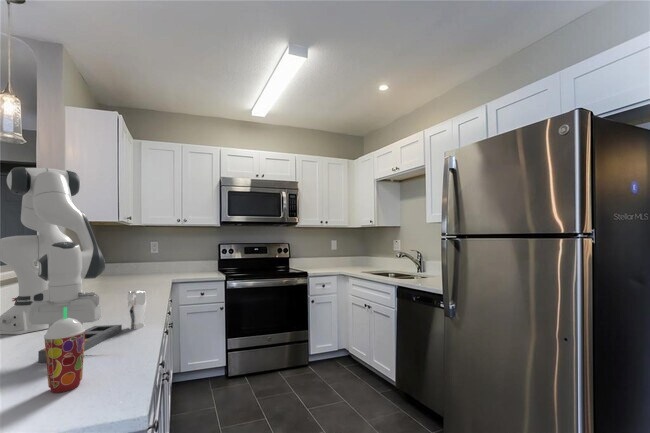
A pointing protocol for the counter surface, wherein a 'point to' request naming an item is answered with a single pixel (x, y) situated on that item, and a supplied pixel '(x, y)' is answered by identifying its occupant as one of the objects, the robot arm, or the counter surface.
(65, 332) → the smoothie
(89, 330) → the socket rail
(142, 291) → the beer glass
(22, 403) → the counter surface
